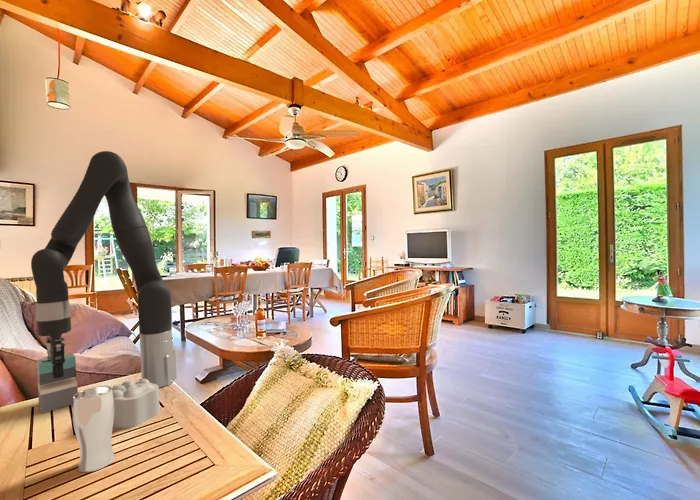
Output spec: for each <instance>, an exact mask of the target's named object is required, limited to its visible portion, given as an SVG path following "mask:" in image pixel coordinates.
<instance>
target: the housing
mask: <svg viewBox="0 0 700 500" xmlns="http://www.w3.org/2000/svg"><path fill="white" fill-rule="evenodd" d="M59 359H61V357H60V356H58V357H56V358H55V360H59ZM64 360H65V362H64V364H63V372H64V376H63V377H60V378H56V379H55V378H54V377H53V366H52V358H50V357H49V356H48V355H47V356H44V357H41V359H37V360H36V368H37V381H38V384H40V385H44V384H48V383H52V382H56V381H60V380H64V379H68V378H72V377H74V378H75V377H76V378H77V367H76V366H77V364H76V355H75V354H74V353H73V352H71V353H65V354H64Z"/></svg>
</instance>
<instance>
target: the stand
mask: <svg viewBox="0 0 700 500" xmlns="http://www.w3.org/2000/svg"><path fill="white" fill-rule="evenodd" d="M37 391H38V393H37V395H38V406H39V409H40V412H41V414H45V413H48V412H50V411H54V410H57V409H60V408H65V407H68V406H73V396H74V395H75V394H76V393H78V391H79V390H78V381H77V380H76V378H75V377H72V378H68V379H64V380H60V381H56V382H52V383H48V384H44V385H40V384H39V383H37Z"/></svg>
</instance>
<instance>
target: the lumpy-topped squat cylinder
mask: <svg viewBox="0 0 700 500" xmlns="http://www.w3.org/2000/svg"><path fill="white" fill-rule="evenodd" d="M111 387H112V392H113V398H114V412H115V413H114V422H113V428H117V429H123V430H124V429H131V428H136V427H137V426H141V425H142V424H143V423H146V422H147V421H148V420H151V419H153V418H154V417H157V416H158V415H160V413H159V412H161V411H160V410H161V409H160V394H159V393H160V391H159V390H160V389H159V388H160V387H158V385H156V384H153V383H150V382H149V381H148V380H147V379H142V378H141V379H139V380H138V381H135V382H134V381H132V380H125V381H124V382H122V383H119V384H115V385H114V386H111ZM156 415H157V416H156Z"/></svg>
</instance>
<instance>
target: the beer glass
mask: <svg viewBox="0 0 700 500" xmlns="http://www.w3.org/2000/svg"><path fill="white" fill-rule="evenodd" d="M112 387H113V386H110V385H97V386H93V387H89V388H85V389H82V390H80V391H79V392H78V393H76V394H75V395H74V396H73V404H72V424H73V429H74V432H75V435H76V436H75V437H76V439H77V440H76V441H77V443H78V447H79V461H78V467H77V470H78V471H79V472H81V473H85V474H86V473H91V472H92V473H93V472H96V471H99V470H101V469H104V468H106V467H107V466H108V465H111V463H112V462H113V461H114V460H115V453H114V451H113V446H112V435H113V428H114V427H113V422H114V413H115V412H114V398H113V392H112Z"/></svg>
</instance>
